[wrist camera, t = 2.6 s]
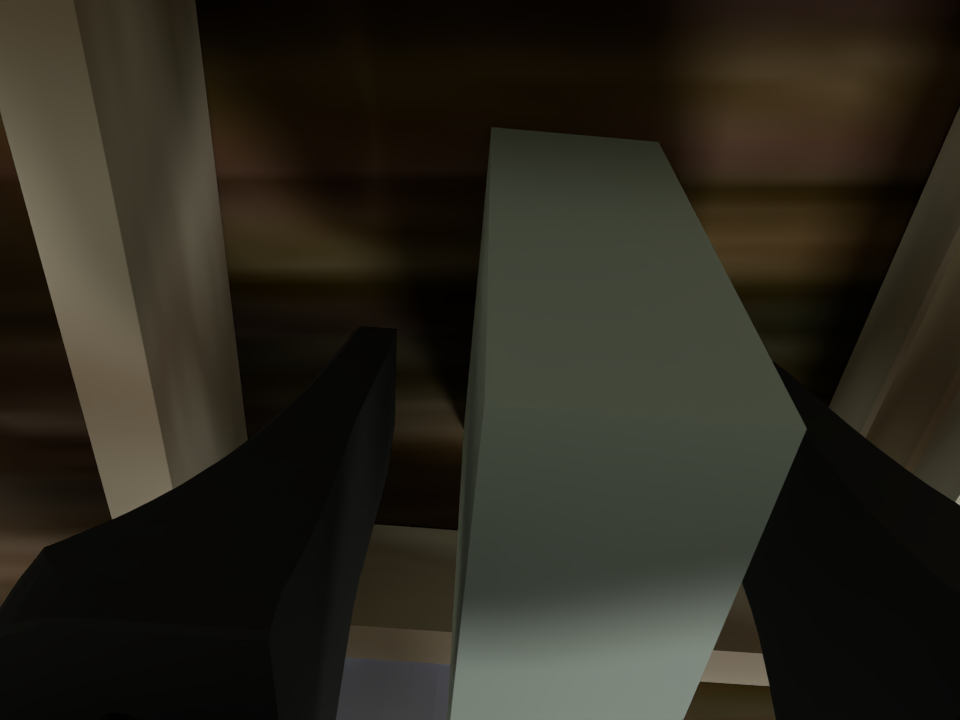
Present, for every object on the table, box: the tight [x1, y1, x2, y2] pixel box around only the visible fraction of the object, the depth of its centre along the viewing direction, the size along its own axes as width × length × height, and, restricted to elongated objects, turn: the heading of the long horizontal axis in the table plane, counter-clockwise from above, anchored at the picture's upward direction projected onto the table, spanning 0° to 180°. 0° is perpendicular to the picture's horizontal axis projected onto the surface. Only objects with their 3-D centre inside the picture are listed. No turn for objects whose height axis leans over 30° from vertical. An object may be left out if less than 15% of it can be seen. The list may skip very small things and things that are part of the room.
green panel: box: [447, 127, 807, 720], centre depth 12 cm, size 7×3×8 cm, turn 175°
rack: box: [0, 0, 960, 686], centre depth 14 cm, size 16×19×4 cm
